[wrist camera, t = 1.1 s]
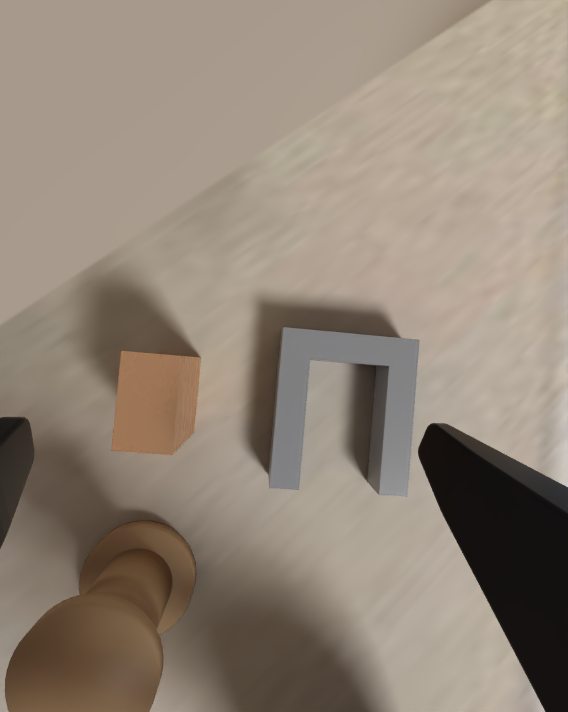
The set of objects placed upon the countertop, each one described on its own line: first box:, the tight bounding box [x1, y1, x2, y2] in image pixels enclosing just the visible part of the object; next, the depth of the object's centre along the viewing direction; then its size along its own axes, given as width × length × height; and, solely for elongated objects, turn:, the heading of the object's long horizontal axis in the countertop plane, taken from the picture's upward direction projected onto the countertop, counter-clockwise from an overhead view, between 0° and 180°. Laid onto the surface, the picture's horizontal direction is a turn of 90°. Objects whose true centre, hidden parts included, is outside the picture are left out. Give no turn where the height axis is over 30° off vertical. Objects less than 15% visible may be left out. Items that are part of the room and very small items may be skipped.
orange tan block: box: [111, 351, 201, 455], centre depth 21 cm, size 5×3×6 cm, turn 175°
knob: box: [5, 521, 196, 712], centre depth 20 cm, size 7×7×8 cm
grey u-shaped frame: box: [268, 327, 419, 497], centre depth 23 cm, size 10×9×2 cm
